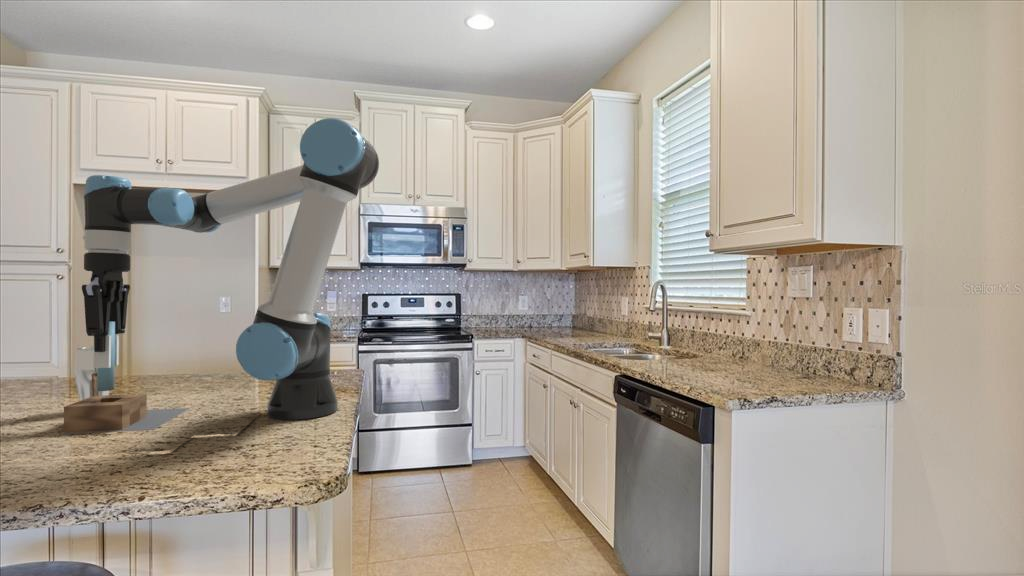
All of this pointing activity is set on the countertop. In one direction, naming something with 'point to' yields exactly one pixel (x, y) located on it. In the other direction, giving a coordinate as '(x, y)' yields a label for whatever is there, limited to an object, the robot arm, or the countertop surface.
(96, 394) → the beer glass
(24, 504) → the countertop surface
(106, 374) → the dowel
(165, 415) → the mat
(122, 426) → the wooden peg holder
